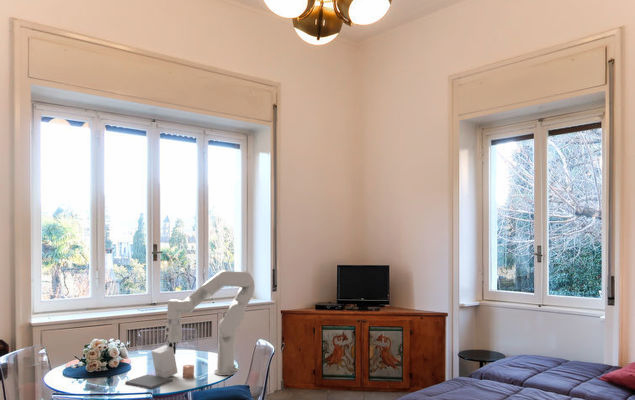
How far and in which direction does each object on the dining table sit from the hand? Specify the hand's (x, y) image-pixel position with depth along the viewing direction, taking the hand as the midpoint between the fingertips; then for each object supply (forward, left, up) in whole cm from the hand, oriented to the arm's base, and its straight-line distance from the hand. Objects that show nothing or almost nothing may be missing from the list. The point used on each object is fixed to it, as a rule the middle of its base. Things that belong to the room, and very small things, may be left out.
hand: (172, 354), depth 296 cm
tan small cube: (-11, -1, -12) cm, 16 cm away
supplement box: (0, +4, -11) cm, 11 cm away
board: (0, +18, -11) cm, 21 cm away
